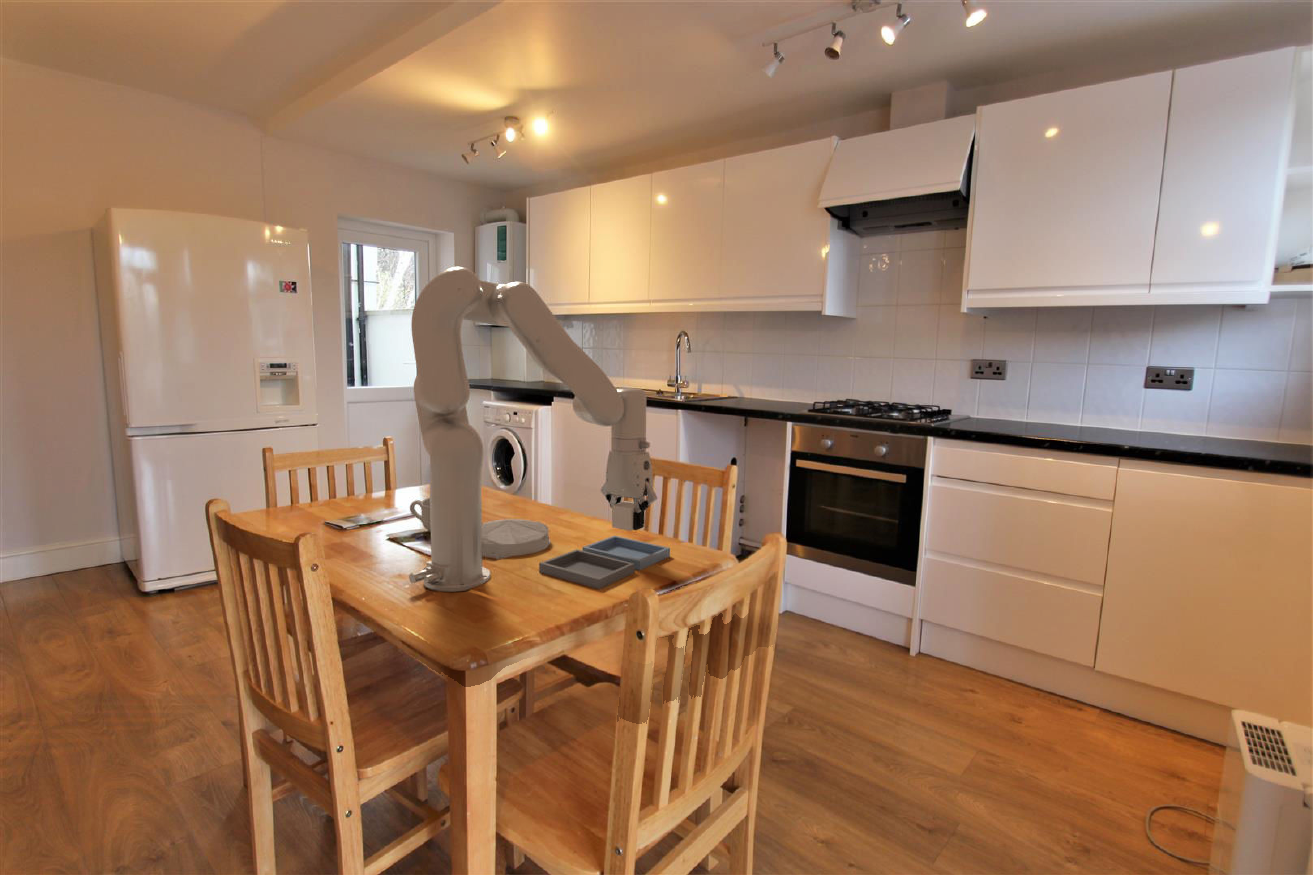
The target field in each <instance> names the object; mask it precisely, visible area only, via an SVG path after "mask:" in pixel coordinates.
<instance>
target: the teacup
mask: <svg viewBox="0 0 1313 875" xmlns="http://www.w3.org/2000/svg"><path fill="white" fill-rule="evenodd" d="M416 505H418V506H420V510H421V513H419V512H417V510H416V508H415V507H416ZM409 511H410V514H411V515H412V516H413V517H415V518H416V519H417V520H419V521H420V522H421V523H422V526H423V528H424V529H425V530H427V531H429V532H430V533H431V520H430V497H428V498H426V499H423V500H419V499H416V500H413V501H412V502H411V504H410V505H409Z"/></svg>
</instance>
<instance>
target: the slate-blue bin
mask: <svg viewBox="0 0 1313 875" xmlns="http://www.w3.org/2000/svg"><path fill="white" fill-rule="evenodd" d="M582 551H586V552H590V553H594V554H598V555H602V556H606V557H610V558H614V559H618V560H622V561H626V562H630V563H634V564H635V570H637V571H642V570H644V569H646V568H649V567H650V566H652V565H655V564H657V563H658V562H661V561H663V560H665V559H667V558H670V556H671V547H668V546H663V545H658V544H654V543H650V542H646V541H640V540H635V539H631V538H628V537H622V536H618V535H612V536H609V537H607V538H604V539H601V540H598V541H596V542H592V543H590V544H587V545H585V546H582Z"/></svg>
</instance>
